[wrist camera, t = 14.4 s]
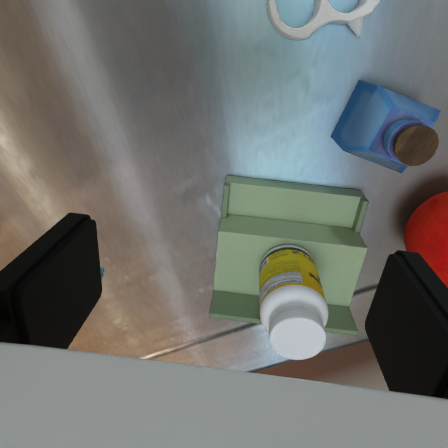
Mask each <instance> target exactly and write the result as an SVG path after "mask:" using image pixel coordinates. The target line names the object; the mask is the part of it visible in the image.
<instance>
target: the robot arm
mask: <svg viewBox="0 0 448 448" xmlns="http://www.w3.org/2000/svg"><path fill="white" fill-rule="evenodd" d="M101 293H102V282H101V271H100V260H99V250H98V239H97V229H96V222H95V220H91V218H90V216H89V215H86V214H78V213H69V214H67V215H66V216H65V217H64V218H62V219H61V220H60V221H59V222H58V223H57V224H55V225H54V226H53V227H52V228H51V229H49V230H48V231H47V232H46V233H45V234H44V235H42V236H41V237H40V238H39V239H38V240H37V241H35V242H34V243H33V244H32V245H31V246H29V247H28V248H27V249H26V250H25V251H24V252H22V253H21V254H20V255H19V256H18V257H16V258H15V259H14V260H13V261H12V262H11V263H9V264H8V265H7V266H6V267H5V268H3V269H2V270H1V271H0V448H448V288H447V287H446V285H445V284H444V283H443V282H442V280H441V279H440V278H439V277H438V276H437V274H436V273H435V272H434V271H433V269H432V268H431V267H430V266H429V265H428V263H427V262H426V261H425V260H424V259H423V257H422V256H421V255H420V254H419V253H417V252H409V251H400V250H398V251H396V252H395V253H394V254H391V255H389V257H388V259H387V261H386V264H385V267H384V270H383V273H382V275H381V278H380V281H379V284H378V287H377V290H376V292H375V295H374V298H373V301H372V304H371V306H370V309H369V312H368V315H367V318H366V321H365V330H366V333H367V336H368V338H369V341H370V343H371V345H372V348H373V350H374V353H375V356H376V358H377V361H378V363H379V366H380V368H381V371H382V373H383V376H384V378H385V381H386V383H387V386H388V388H389V391H385V390H378V389H370V388H362V387H355V386H348V385H341V384H333V383H326V382H317V381H310V380H303V379H295V378H287V377H279V376H272V375H264V374H256V373H249V372H241V371H233V370H226V369H218V368H210V367H202V366H195V365H187V364H179V363H172V362H164V361H156V360H149V359H141V358H133V357H125V356H117V355H109V354H101V353H93V352H85V351H77V350H69V349H67V348H68V347H69V345H70V344H71V342H72V341H73V339H74V337H75V336H76V334H77V333H78V331H79V330H80V328H81V327H82V325H83V323H84V322H85V320H86V319H87V317H88V316H89V314H90V313H91V311H92V309H93V308H94V306H95V305H96V303H97V302H98V300H99V298H100V296H101Z"/></svg>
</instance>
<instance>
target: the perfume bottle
mask: <svg viewBox="0 0 448 448" xmlns="http://www.w3.org/2000/svg"><path fill="white" fill-rule="evenodd" d="M439 113H440V110H438V109H435V108H433V107H430V106H428V105H425V104H423V103H420V102H418V101H416V100H413V99H411V98H408V97H406V96H403V95H401V94H398V93H396V92H393V91H391V90H389V89H386V88H384V87H381V86H379V85H375V84H371V83H367V82H363V81H358V83H357V85H356V87H355V89H354V91H353V93H352V95H351V97H350V99H349V101H348V103H347V105H346V107H345V109H344V111H343V113H342V115H341V117H340V119H339V121H338V123H337V125H336V127H335V129H334V131H333V133H332V135H331V138H332V139H333V140H334V141H335V142H336V143H337V144H338V145H339V146H340V147H341V149H342V150H343V151H346V152H348V153H351V154H353V155H356V156H359V157H361V158H364V159H366V160H369V161H372V162H374V163H377V164H379V165H382V166H384V167H387V168H390V169H392V170H395V171H397V172H400V173H402V172H403V171H404V170H405V169H406V168H407V167H408V166H418V165H421V164H423V163H425V162H427V161H428V160H430V159H431V158H432V156H433V155H434V154H435V153H436V150H437V148H438V144H439V139H438V135H437V133H436V132H435V130H433V129H432V127H433V126H434V124H435V122H436V120H437V118H438V116H439Z"/></svg>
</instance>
